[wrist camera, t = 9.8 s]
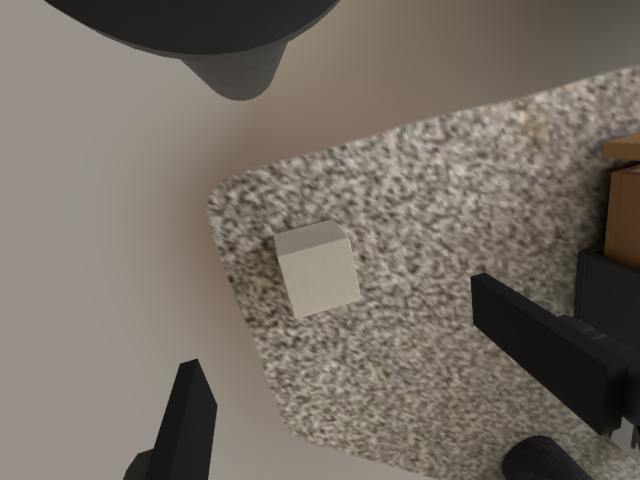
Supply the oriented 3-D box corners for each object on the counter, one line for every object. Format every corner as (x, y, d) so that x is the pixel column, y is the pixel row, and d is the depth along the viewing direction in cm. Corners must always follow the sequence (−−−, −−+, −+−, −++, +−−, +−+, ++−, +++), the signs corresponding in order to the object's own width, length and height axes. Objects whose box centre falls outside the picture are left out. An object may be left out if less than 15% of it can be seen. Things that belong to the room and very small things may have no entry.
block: (272, 234, 24) (277, 257, 20) (333, 218, 25) (349, 237, 21) (288, 288, 26) (294, 320, 22) (344, 272, 26) (361, 300, 22)
